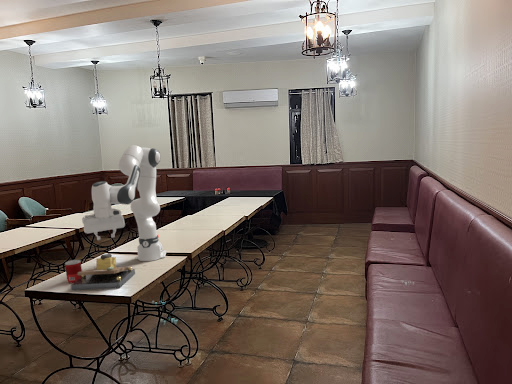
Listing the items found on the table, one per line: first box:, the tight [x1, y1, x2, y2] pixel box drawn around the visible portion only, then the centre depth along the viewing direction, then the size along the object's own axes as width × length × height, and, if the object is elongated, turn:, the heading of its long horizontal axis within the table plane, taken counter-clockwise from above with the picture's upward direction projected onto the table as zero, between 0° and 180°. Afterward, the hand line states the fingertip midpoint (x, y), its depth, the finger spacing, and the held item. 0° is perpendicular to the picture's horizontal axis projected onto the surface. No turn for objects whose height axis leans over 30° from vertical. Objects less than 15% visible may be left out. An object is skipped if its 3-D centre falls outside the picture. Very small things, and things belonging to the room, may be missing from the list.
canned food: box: [64, 259, 83, 284], centre depth 223 cm, size 8×8×11 cm
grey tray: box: [70, 266, 136, 291], centre depth 218 cm, size 22×26×5 cm
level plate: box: [78, 253, 129, 275], centre depth 218 cm, size 19×20×10 cm
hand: (106, 238), depth 210 cm, fingers open, 6 cm apart
